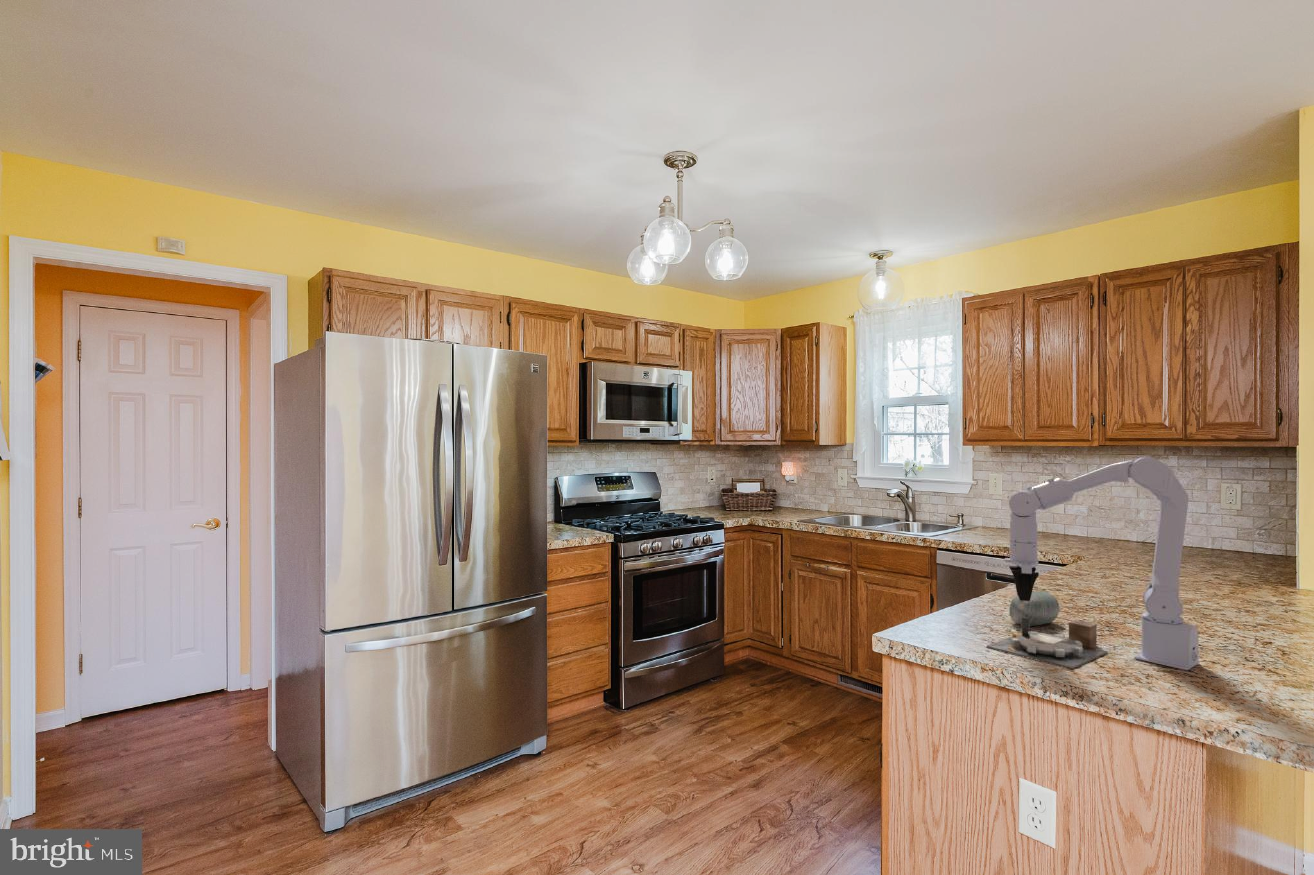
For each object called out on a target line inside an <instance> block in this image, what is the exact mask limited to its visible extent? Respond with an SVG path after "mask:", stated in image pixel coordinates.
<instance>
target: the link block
mask: <svg viewBox="0 0 1314 875" xmlns="http://www.w3.org/2000/svg"><path fill="white" fill-rule="evenodd" d="M1097 632H1098V631H1097V624H1096V623H1092V622H1087V621H1081V620H1077V619H1074V620H1071V621H1069V622H1068V638H1069V639H1071V640H1073V641H1079V642H1081V643H1082V646H1086V647H1091V648H1095V647H1096V645H1097V639H1098V638H1097Z"/></svg>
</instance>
